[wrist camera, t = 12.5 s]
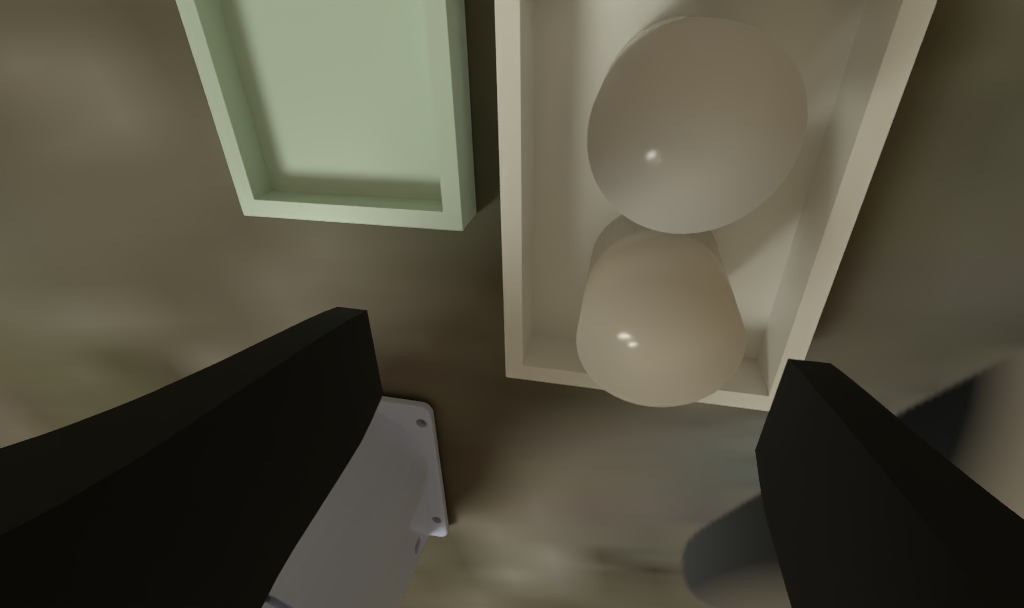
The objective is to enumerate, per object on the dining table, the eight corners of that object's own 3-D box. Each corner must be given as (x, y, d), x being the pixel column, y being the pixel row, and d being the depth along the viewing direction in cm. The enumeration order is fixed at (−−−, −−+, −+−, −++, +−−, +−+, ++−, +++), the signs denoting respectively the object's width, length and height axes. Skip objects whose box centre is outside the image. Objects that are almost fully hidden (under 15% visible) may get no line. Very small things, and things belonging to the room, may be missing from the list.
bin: (766, 364, 17) (784, 413, 15) (520, 336, 19) (505, 377, 17) (900, -49, 11) (960, -62, 9) (516, -35, 13) (493, -43, 11)
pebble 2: (713, 318, 16) (735, 412, 13) (591, 315, 17) (579, 402, 13) (726, 203, 14) (757, 273, 11) (588, 207, 15) (572, 273, 11)
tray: (476, 213, 17) (462, 231, 15) (272, 200, 18) (244, 215, 17) (446, -312, 11) (418, -357, 9) (142, -264, 12) (81, -298, 11)
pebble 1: (746, 170, 14) (788, 231, 10) (602, 177, 15) (590, 236, 11) (767, 4, 12) (829, 2, 8) (599, 26, 13) (582, 33, 9)
